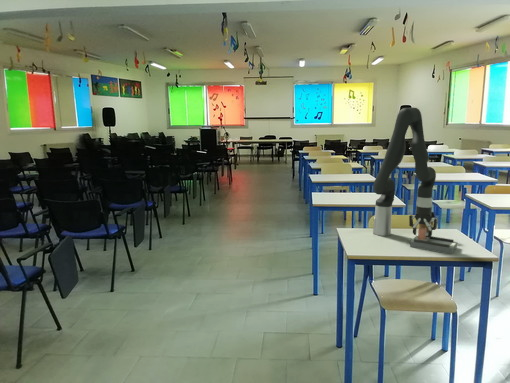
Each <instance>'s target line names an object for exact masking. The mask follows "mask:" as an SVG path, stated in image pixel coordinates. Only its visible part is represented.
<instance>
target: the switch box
mask: <svg viewBox="0 0 510 383" xmlns="http://www.w3.org/2000/svg"><path fill="white" fill-rule="evenodd" d="M417 236H418V235H415V236H414V238H412V239H411V240H410V245H409V247H410V248H415V249H421V250H426V251H430V252H432V251H433V252H438V253H442V254H443V253H444V254H449V255H452V254H453V253H454V252H455V251H456V250H457V245H458V242H457V241H454V239H452V238H445V237H441V236H440V237H438V236H434V235H433V236H430V237H429V238H430V239H429V240H428V241H424V240H418V239H415V238H416V237H417ZM426 237H428V236H427V235H426Z"/></svg>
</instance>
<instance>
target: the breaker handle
mask: <svg viewBox="0 0 510 383" xmlns="http://www.w3.org/2000/svg"><path fill="white" fill-rule="evenodd" d="M426 229H427V228H420V229H419V228H418V229H417V230H418V234H417V235H416V236H417V237H416V236H415V237H416V238H415V237H414V238H415V239H418V240H424V241H428V240H429V239H430V238H429V237H426Z"/></svg>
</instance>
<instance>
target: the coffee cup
mask: <svg viewBox="0 0 510 383" xmlns="http://www.w3.org/2000/svg"><path fill="white" fill-rule="evenodd" d="M431 216H432V218H435V212H434V211H432V213H431ZM430 223H431V226H432V227H433V224H434V222H433V221H432V220H431V221H430ZM420 228H427V229H426V235H427V236H428V232H429V228H428V227H427V225H424V224H418V230H419V229H420Z"/></svg>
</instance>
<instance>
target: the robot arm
mask: <svg viewBox="0 0 510 383" xmlns="http://www.w3.org/2000/svg"><path fill="white" fill-rule="evenodd" d="M409 127H410V129H411V133H412V140H411V152H412V156H413V160H414V173H415V176H416V178H417V179H418V180H419V181H420V182H421V184H420V185H419V186H418V188H417V195H416V196H417V198H416V203H415V204H416V205H415V206H416V208H415V215H413V214H410V215H409V216H408V220H409V221H408V222H409V224H408V226H409V227H411V228H412V234H413V235H415V236H417V230H418V229H417V226H419V224H424V225H427V227H428V228H429V232H428V237H430V236H432V235H433V231H435V230H437V226H438V221H439V220H438V218H437V217H434V218H432V216H431V213H432V212H433V211H432V208H433V189H434V185H435V183H436V179H437V172H436V170H435V169H434V168H433V167H431V166H428V162H429V161H430V157H429V152H428V148H427V146H426V142H425V135H424V127H423V117H422V112H421V110H420V109H419V108H417V107H403V108H401V109H400V110H399V111H398V112H397V116H396V119H395V124H394V127H393V132H392V135H391V138H390V141H389V144H388V146H387V149H386V152H385V156H384V158H383V161H382V163H381V167H380V168H379V171H378V172H377V175H376V177H375V179H374V182H373V184H372V188H373V192H374V193H375V195H380V197H379V198H377V199H375V209H374V210H375V212H374V217H373V224H372V226H373V228H372V229H373V230H372V234H373V233H374V235H376V236H382V237H389V236H391V233H392V220H393V219H392V216H393V215H392V214H393V213H392V212H393V202H394V200H395V193H396V184H395V181H394V179H393V178H391V177H390V176H391V174H392V173H393V171H395V170H396V169H397V167H399V165H400V164H401V162H402V161H403V158H404V156H405V153H406V149H407V148H406V136H407V131H408V129H409ZM414 220H415V221H416V222H415V223H414ZM431 220H432V221H433V227H432V226H431V223H430V221H431Z"/></svg>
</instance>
